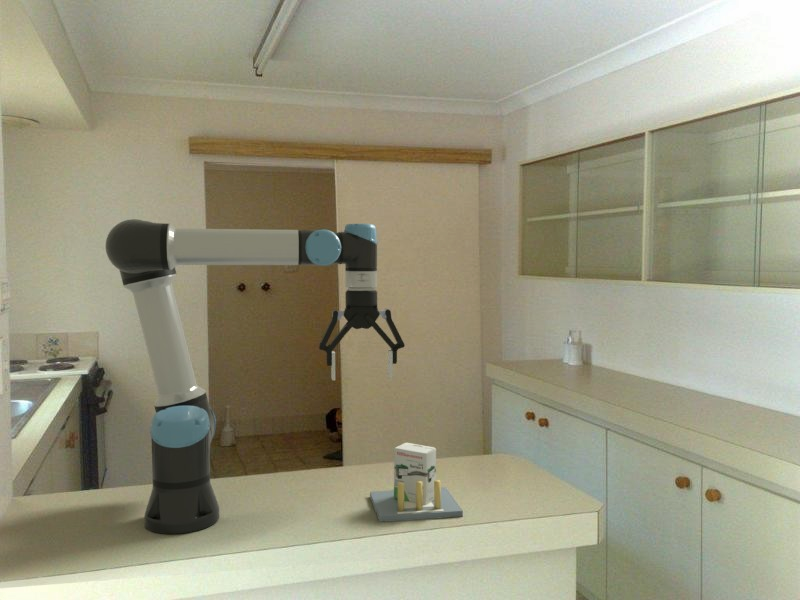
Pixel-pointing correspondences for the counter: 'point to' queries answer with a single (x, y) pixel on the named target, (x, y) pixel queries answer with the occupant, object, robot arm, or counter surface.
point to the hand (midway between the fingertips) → (362, 378)
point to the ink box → (415, 470)
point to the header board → (414, 504)
